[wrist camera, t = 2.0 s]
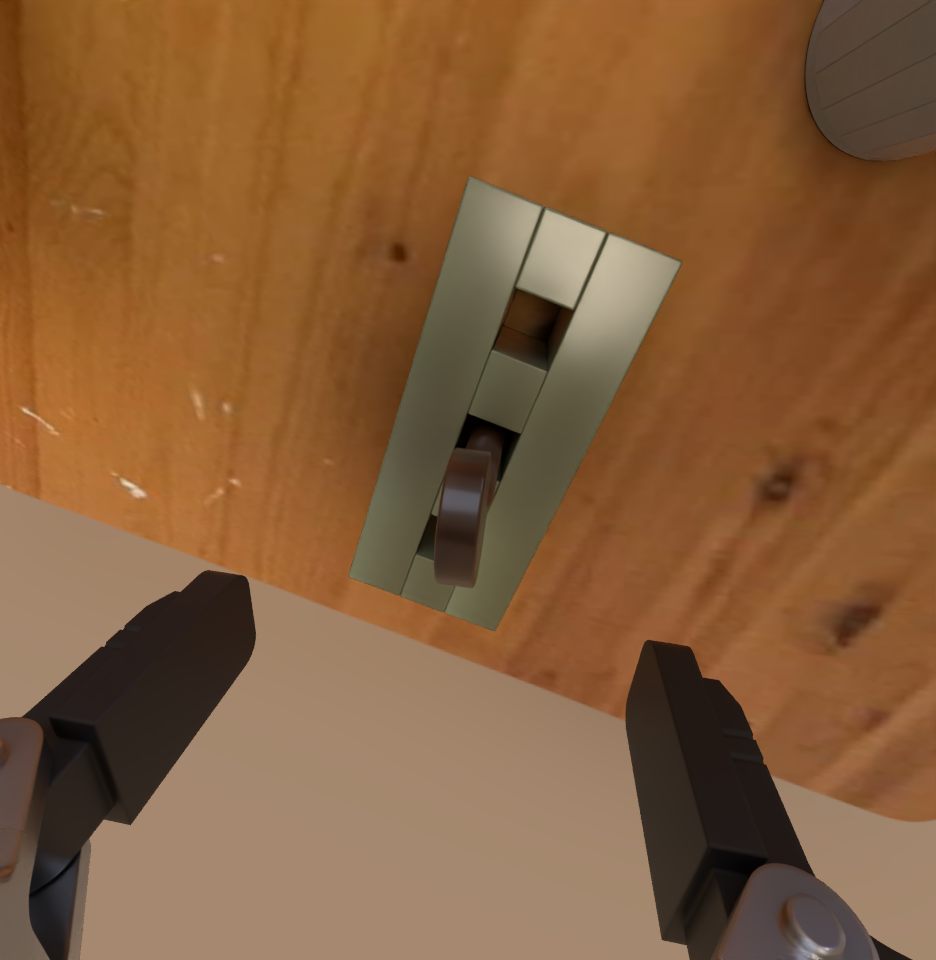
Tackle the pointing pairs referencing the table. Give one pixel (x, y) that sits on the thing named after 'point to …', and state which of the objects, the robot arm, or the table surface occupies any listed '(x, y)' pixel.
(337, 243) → the table surface
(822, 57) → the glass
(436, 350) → the stand
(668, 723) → the robot arm
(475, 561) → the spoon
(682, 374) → the table surface
